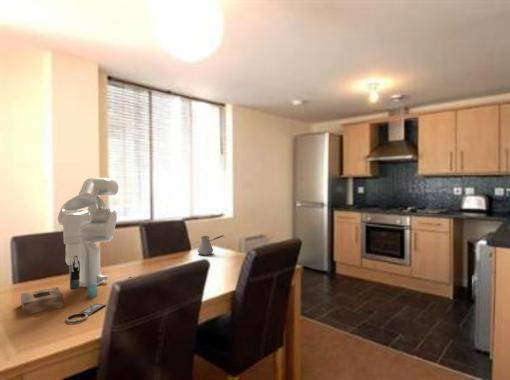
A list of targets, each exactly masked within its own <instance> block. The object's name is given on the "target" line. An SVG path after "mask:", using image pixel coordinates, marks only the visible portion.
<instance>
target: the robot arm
mask: <svg viewBox="0 0 510 380" xmlns="http://www.w3.org/2000/svg"><path fill="white" fill-rule="evenodd" d="M118 192H119V185H118V182H117V181H115V180H114V179H112V178H109V177H108V178H107V177H91V178H90V177H89V178H87V179H85V180H84V182H83V184H82V186H81V188H80V189H79V192H78V194H77V195H76V196H73V197H71V198H70V199H68V200H67V201H65V203H63V205H62V206H61V208H60V209H59V213H58V215H57V216H58V217H57V221H58V223H59V225H60V226H62V231H63V232H62V234H63V244H64V245H65V263H66V264H67V265H68V267H69V266H72V272H71V280H78V279H79V282H80V288H88V283H92V282H96V283H97V286H99V285H101V284H103V283H104V281H108V280H109V275H107V274H106V275H103V273H102V272H101V255H100V254H101V250H100V247H99V246H98V244H97V243H106V242H107V243H108V242H111V240H113V238H114V234H115V230H116V229H115V228H116V224H117V221H118V220H117V217H118V215H117V212H116V210H115V209H114V208H106V203H105V201H104V200H103V199H102V198H101V197H100V196H115V195H117V194H118ZM85 208H87V210H86V209H85ZM78 261H79V262H78ZM73 263H74V264H75V265H73ZM73 266H75V267H74V268H73Z"/></svg>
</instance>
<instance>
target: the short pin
mask: <svg viewBox="0 0 510 380" xmlns="http://www.w3.org/2000/svg"><path fill="white" fill-rule="evenodd" d="M96 297H98V285H97V283H96V282H92V283H88V287H87V298H96Z"/></svg>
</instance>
